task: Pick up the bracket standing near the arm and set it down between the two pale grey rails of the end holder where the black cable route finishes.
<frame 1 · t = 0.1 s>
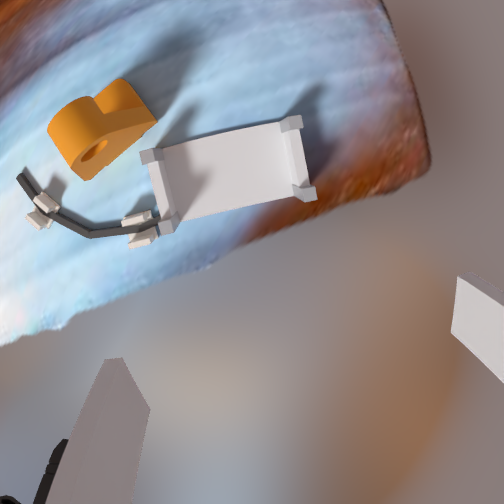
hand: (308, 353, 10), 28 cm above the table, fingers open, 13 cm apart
bracket: (109, 129, 32), on the table
cable route: (72, 215, 35), on the table
holder: (228, 170, 35), on the table
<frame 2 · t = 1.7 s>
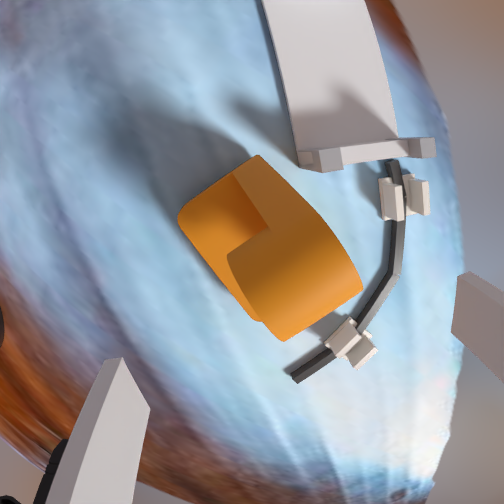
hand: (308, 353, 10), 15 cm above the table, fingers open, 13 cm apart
bracket: (254, 236, 25), on the table
cable route: (365, 298, 27), on the table
holder: (332, 62, 20), on the table
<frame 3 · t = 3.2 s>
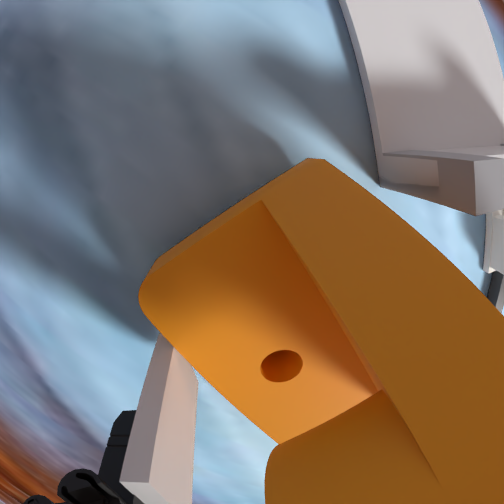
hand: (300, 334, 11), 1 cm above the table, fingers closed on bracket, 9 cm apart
bracket: (291, 313, 13), on the table, touching gripper
cable route: (440, 379, 16), on the table
holder: (422, 9, 9), on the table
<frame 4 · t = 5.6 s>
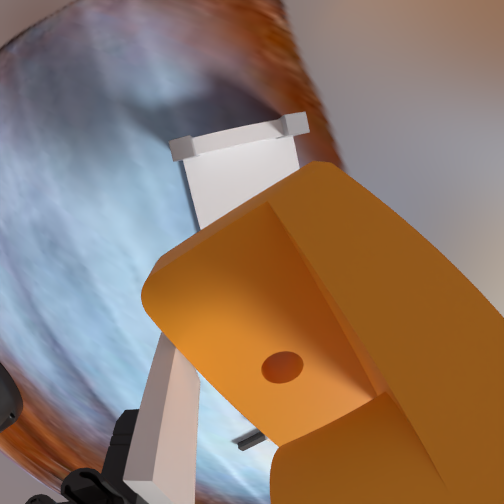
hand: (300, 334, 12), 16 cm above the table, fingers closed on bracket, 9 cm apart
bracket: (292, 314, 13), point 14 cm above the table, touching gripper
holder: (255, 227, 26), on the table
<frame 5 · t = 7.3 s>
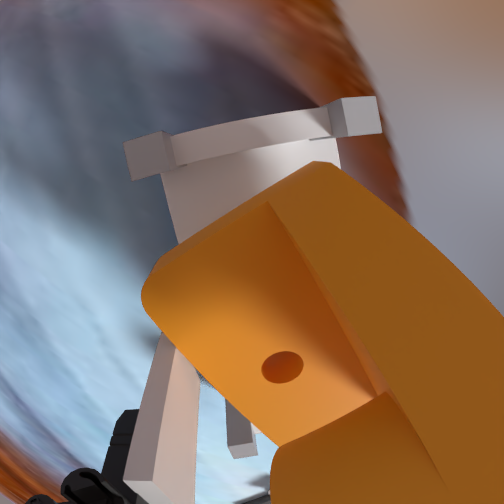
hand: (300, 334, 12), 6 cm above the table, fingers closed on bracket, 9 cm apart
bracket: (292, 314, 13), point 4 cm above the table, touching gripper
holder: (273, 275, 17), on the table
when the fingers open (3 cm above the table, at t = 8.3 s): bracket drops 1 cm, resting on holder.
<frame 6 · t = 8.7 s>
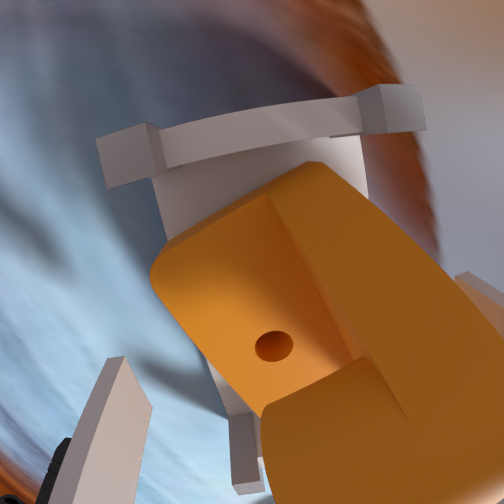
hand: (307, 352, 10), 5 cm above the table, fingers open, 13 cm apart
bracket: (285, 301, 14), resting on holder
holder: (284, 296, 15), on the table
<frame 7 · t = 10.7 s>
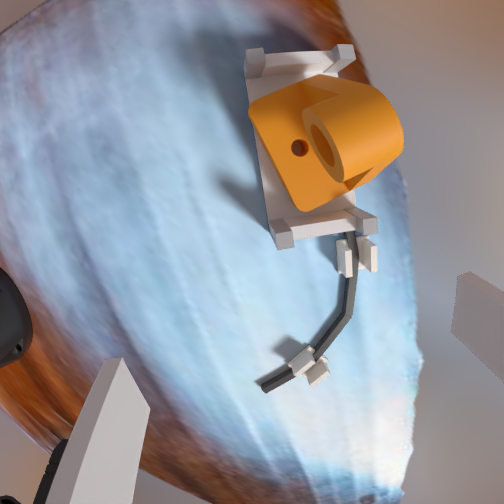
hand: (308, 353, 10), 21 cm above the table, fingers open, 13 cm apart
bracket: (303, 143, 28), resting on holder
cable route: (322, 331, 35), on the table
holder: (303, 143, 28), on the table
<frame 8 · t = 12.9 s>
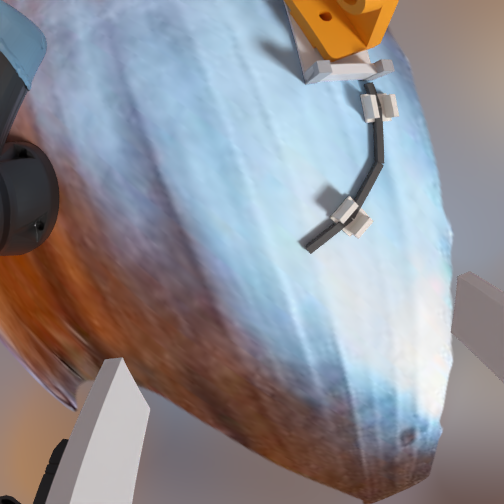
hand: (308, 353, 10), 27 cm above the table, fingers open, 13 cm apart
bracket: (325, 22, 29), resting on holder
cable route: (359, 181, 36), on the table
holder: (325, 22, 29), on the table
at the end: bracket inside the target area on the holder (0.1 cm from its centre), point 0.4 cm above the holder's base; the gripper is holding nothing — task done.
